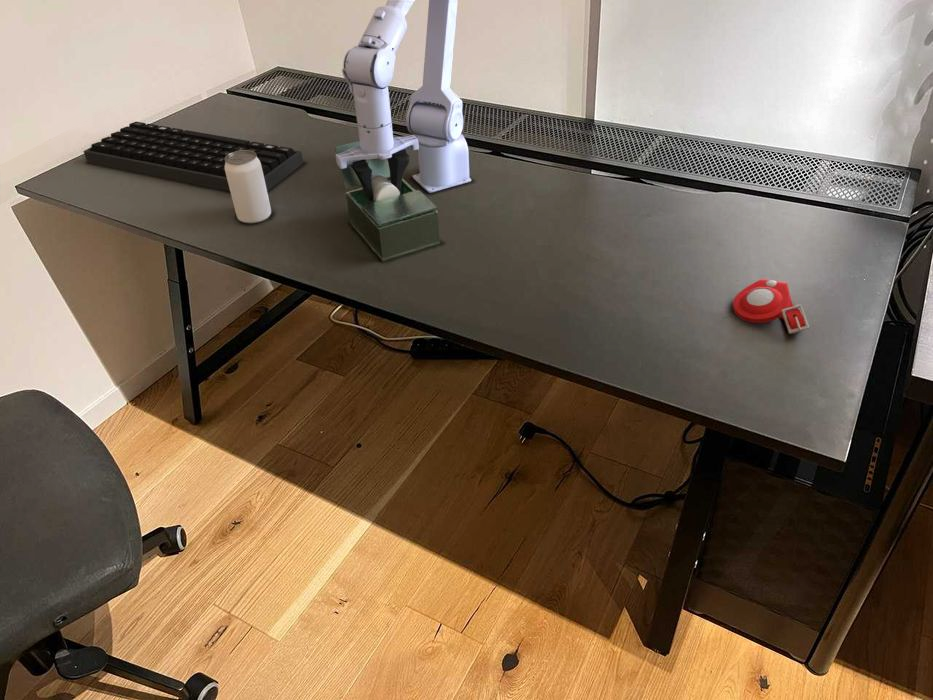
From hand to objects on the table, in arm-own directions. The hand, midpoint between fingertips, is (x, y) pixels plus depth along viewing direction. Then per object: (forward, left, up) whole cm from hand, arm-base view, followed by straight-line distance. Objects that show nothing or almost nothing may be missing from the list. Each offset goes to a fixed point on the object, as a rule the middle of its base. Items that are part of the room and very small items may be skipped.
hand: (382, 194), depth 136 cm
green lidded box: (0, +4, -6) cm, 7 cm away
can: (+20, -16, -6) cm, 27 cm away
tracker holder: (-38, +56, -6) cm, 68 cm away
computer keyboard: (+25, -46, -6) cm, 53 cm away
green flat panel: (0, -5, +5) cm, 7 cm away
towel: (+2, 0, +2) cm, 2 cm away
